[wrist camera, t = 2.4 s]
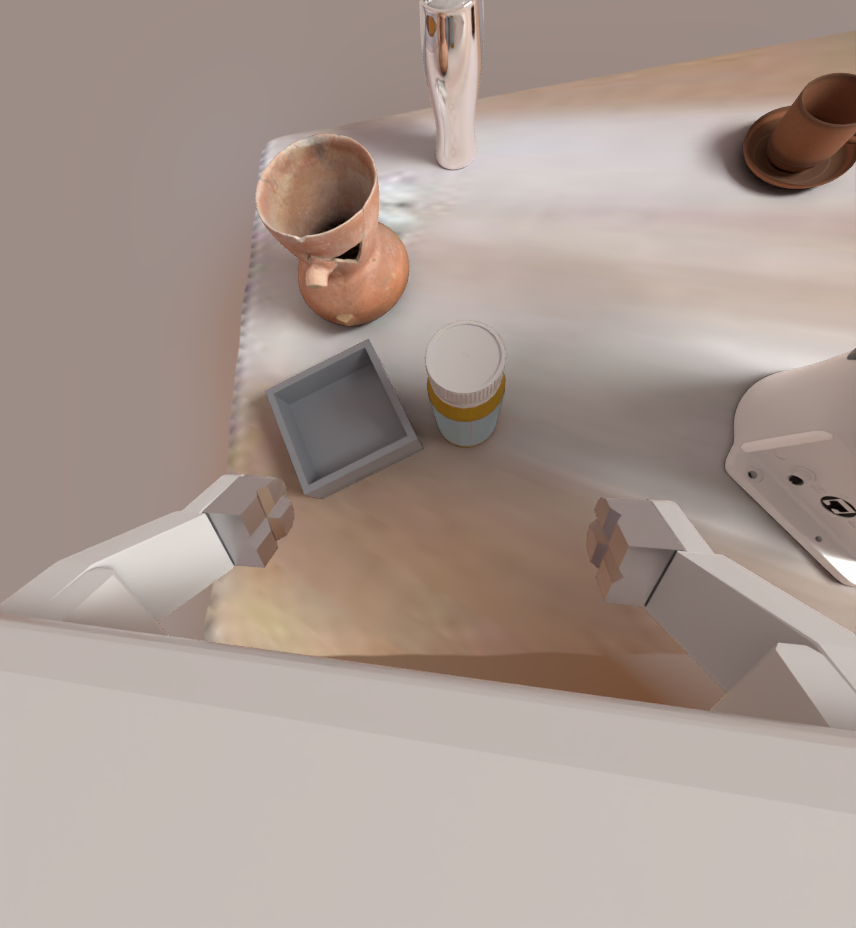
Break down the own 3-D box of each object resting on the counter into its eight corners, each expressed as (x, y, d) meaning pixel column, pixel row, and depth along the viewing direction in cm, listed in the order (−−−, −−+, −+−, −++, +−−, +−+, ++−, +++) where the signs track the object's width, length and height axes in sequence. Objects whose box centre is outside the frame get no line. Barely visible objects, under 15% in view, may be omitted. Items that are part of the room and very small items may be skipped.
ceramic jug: (404, 346, 43) (372, 259, 29) (300, 342, 45) (225, 258, 31) (421, 229, 46) (400, 100, 32) (324, 230, 48) (265, 109, 34)
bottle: (503, 439, 39) (524, 384, 24) (445, 455, 39) (431, 409, 24) (487, 386, 40) (497, 304, 26) (431, 402, 41) (410, 329, 26)
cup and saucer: (825, 115, 42) (885, 46, 36) (855, 191, 40) (925, 130, 34) (723, 133, 43) (764, 69, 37) (746, 207, 41) (793, 151, 35)
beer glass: (470, 127, 48) (470, -47, 34) (487, 160, 47) (496, -7, 32) (426, 145, 49) (407, -19, 34) (441, 179, 47) (429, 22, 33)
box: (423, 449, 40) (417, 438, 35) (322, 498, 40) (304, 494, 35) (378, 358, 43) (368, 338, 38) (285, 405, 43) (265, 391, 39)
